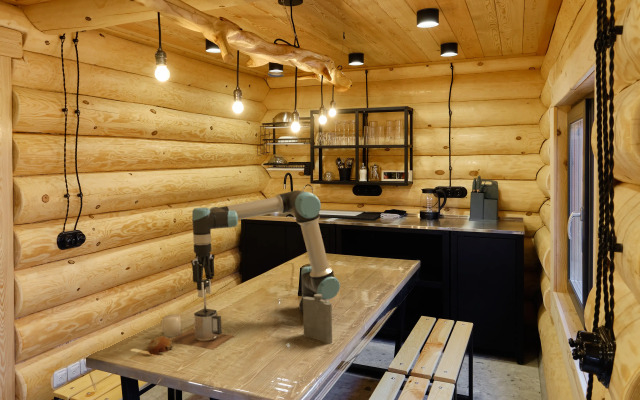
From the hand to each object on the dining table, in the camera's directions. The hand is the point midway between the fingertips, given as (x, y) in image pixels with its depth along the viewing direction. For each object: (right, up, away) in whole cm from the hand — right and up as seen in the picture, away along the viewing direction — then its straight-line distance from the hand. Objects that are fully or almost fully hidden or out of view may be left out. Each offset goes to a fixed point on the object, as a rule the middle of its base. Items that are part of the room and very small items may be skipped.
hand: (204, 295), depth 218 cm
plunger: (0, -11, +1) cm, 11 cm away
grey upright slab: (+50, -20, +2) cm, 54 cm away
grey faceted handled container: (+2, -19, +2) cm, 19 cm away
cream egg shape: (-16, -20, +7) cm, 27 cm away
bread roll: (-16, -22, -8) cm, 29 cm away
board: (-1, -21, +1) cm, 21 cm away
